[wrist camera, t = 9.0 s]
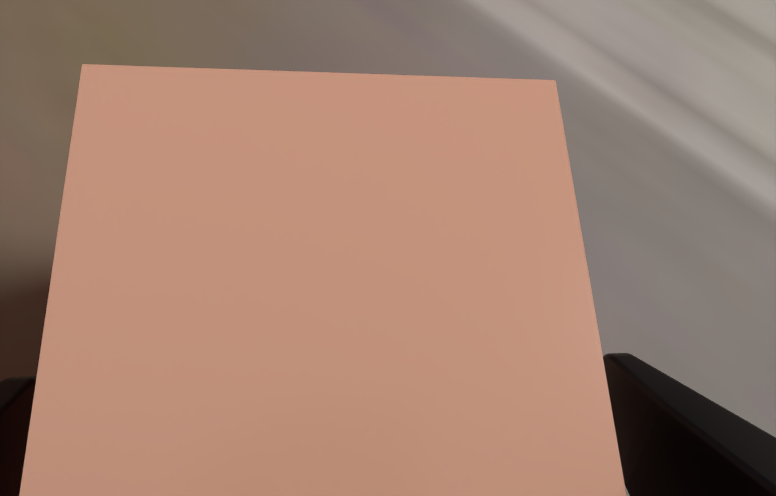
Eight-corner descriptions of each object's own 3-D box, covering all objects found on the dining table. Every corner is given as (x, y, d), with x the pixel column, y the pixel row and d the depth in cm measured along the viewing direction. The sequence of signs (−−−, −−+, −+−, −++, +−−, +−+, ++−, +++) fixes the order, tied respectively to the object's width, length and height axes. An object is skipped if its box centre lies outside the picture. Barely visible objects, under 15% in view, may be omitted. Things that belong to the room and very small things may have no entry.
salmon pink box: (447, 464, 15) (642, 587, 6) (212, 482, 14) (-6, 666, 5) (430, 247, 17) (555, 80, 8) (222, 250, 16) (82, 63, 7)
